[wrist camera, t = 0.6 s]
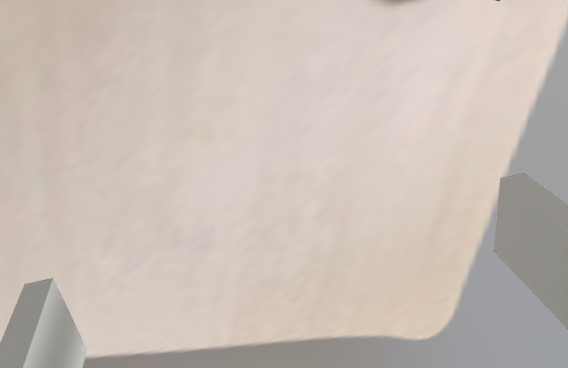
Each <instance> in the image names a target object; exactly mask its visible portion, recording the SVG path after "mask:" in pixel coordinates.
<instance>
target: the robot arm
mask: <svg viewBox="0 0 568 368" xmlns="http://www.w3.org/2000/svg"><path fill="white" fill-rule="evenodd" d="M494 252H495V253H496V254H497V255H498V256H499V257H500V258H501V259H502V260H503V262H504V263H505V264H506V265H507V266H508V267H509V268H510V269H511V270H512V271H513V272H514V273H515V274H516V275H517V276H518V277H519V278H520V279H521V280H522V282H523V283H524V284H526V286H527V287H528V288H529V289H530V290H531V291H532V292H533V293H534V294H535V295H536V296H537V297H538V298H539V299H540V300H541V301H542V303H544V305H545V306H546V307H547V308H548V309H549V310H550V311H551V312H552V313H553V314H554V315H555V316H556V317H557V318H558V319H559V320H560V321H561V323H562V324H563V325H564V326H565V327H566V328H567V329H568V205H567V204H566V203H565V202H563V201H562V200H560V199H559V198H558V197H556V196H555V195H553V194H552V193H551V192H550V191H548V190H547V189H545V188H544V187H543V186H541V185H540V184H539V183H537V182H536V181H534V180H533V179H532V178H530V177H529V176H528V175H526V174H525V173H521V174H517V175H512V176H507V177H503V178H500V188H499V199H498V210H497V222H496V233H495V244H494ZM86 349H87V348H86V346H85V344H84V342H83V340H82V338H81V336H80V334H79V331H78V329H77V327H76V325H75V323H74V321H73V319H72V317H71V314H70V312H69V310H68V308H67V306H66V304H65V302H64V300H63V297H62V295H61V293H60V291H59V289H58V287H57V285H56V283H55V280H54V278H51V279H46V280H42V281H37V282H33V283H28V284H25V285H24V287H23V289H22V292H21V294H20V297H19V299H18V302H17V304H16V306H15V309H14V311H13V314H12V316H11V319H10V321H9V323H8V326H7V328H6V331H5V333H4V336H3V338H2V340H1V343H0V368H83V363H84V358H85V354H86Z"/></svg>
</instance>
